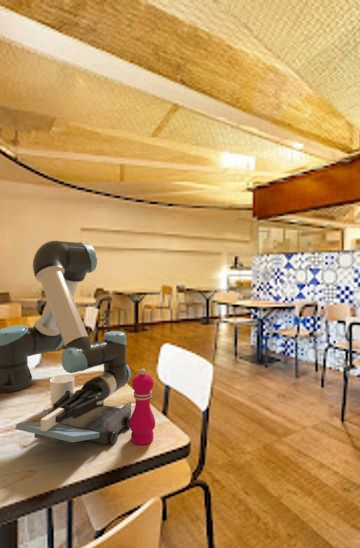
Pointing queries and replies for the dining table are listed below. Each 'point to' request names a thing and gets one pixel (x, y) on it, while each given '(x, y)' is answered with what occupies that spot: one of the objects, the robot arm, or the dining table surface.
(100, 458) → the dining table surface
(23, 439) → the dining table surface
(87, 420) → the cart bed
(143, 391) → the pepper mill
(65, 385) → the white cup
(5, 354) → the robot arm
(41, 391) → the dining table surface
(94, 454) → the dining table surface
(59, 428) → the panel
